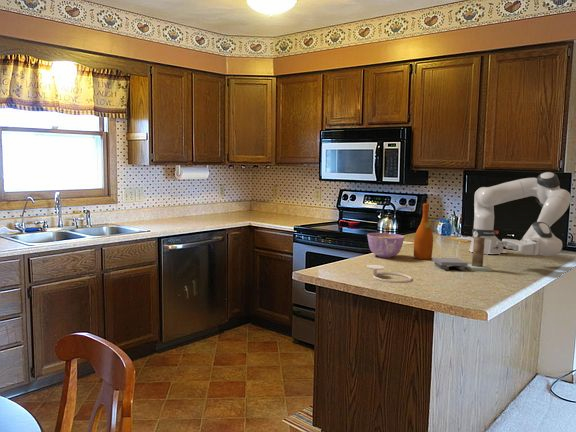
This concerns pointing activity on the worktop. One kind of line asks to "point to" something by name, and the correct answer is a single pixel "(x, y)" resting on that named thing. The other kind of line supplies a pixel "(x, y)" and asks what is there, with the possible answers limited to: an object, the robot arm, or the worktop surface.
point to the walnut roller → (478, 251)
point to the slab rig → (450, 263)
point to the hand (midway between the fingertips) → (501, 244)
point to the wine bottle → (423, 237)
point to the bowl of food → (385, 244)
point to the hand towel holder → (379, 267)
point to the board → (478, 268)
